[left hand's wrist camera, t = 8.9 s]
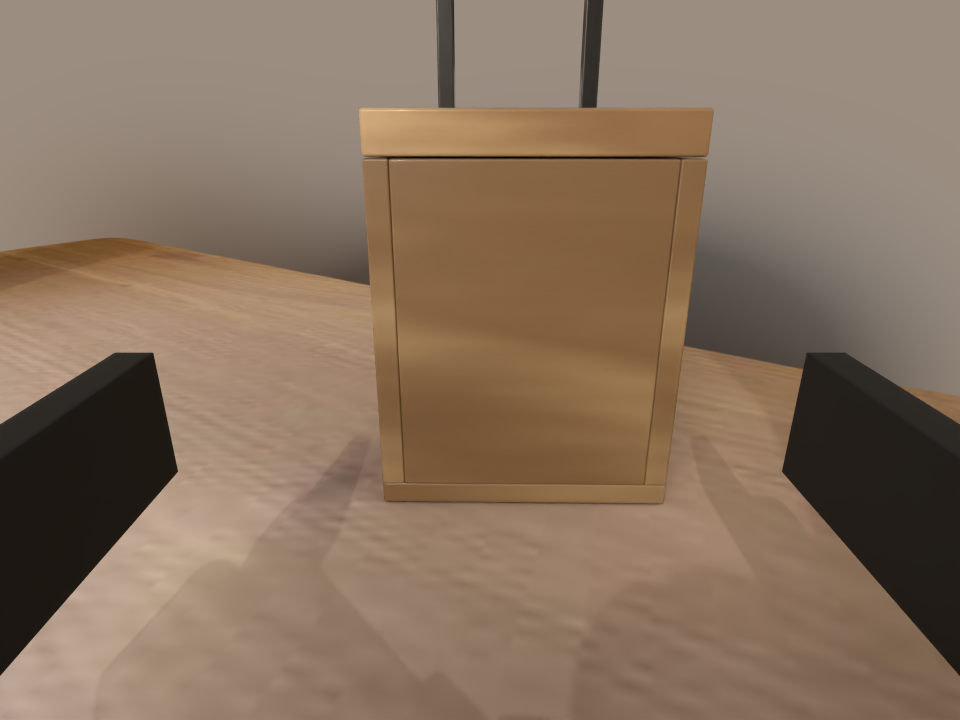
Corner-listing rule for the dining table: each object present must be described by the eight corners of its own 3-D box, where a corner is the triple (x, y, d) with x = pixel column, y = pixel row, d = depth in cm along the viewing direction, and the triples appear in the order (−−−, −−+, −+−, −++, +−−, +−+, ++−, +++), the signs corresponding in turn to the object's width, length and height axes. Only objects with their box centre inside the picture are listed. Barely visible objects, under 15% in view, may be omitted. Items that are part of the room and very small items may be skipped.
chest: (425, 354, 33) (418, 143, 29) (595, 355, 33) (610, 143, 29) (384, 501, 20) (361, 158, 16) (663, 504, 20) (708, 158, 16)
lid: (420, 142, 30) (413, -79, 27) (607, 142, 30) (623, -80, 27) (361, 156, 16) (331, -299, 13) (708, 156, 16) (768, -302, 13)
